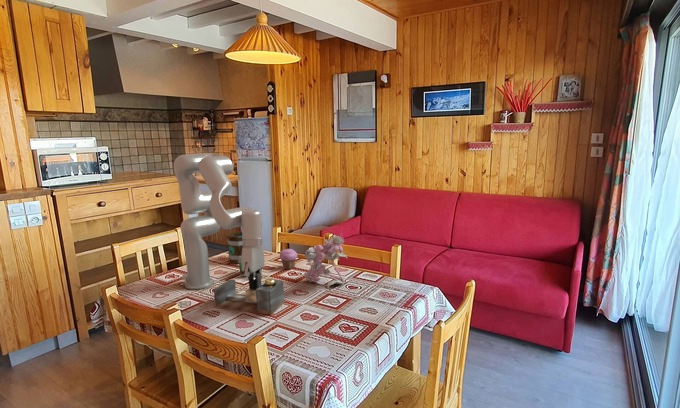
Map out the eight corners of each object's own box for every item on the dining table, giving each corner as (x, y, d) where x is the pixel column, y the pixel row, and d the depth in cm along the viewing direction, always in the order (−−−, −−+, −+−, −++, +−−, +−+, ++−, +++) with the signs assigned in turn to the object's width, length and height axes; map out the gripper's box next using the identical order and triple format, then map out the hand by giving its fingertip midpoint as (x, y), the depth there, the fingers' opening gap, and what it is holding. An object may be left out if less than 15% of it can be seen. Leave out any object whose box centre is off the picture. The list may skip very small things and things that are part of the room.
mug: (223, 261, 210) (221, 235, 207) (243, 255, 220) (241, 230, 218) (246, 268, 198) (244, 240, 195) (266, 261, 208) (264, 234, 206)
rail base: (215, 307, 153) (213, 284, 151) (231, 296, 163) (229, 274, 161) (271, 314, 145) (270, 291, 143) (284, 302, 155) (283, 280, 154)
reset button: (264, 295, 149) (263, 281, 148) (268, 291, 152) (267, 278, 151) (272, 296, 148) (271, 282, 147) (276, 292, 151) (276, 279, 150)
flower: (339, 267, 191) (317, 226, 184) (366, 276, 172) (342, 230, 165) (309, 293, 183) (283, 250, 175) (333, 305, 164) (306, 257, 156)
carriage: (245, 300, 150) (244, 276, 148) (255, 294, 156) (253, 270, 155) (257, 302, 148) (255, 277, 147) (266, 295, 155) (264, 271, 153)
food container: (251, 279, 182) (249, 259, 180) (239, 278, 183) (237, 258, 182) (261, 270, 194) (260, 251, 192) (250, 270, 195) (248, 251, 193)
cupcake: (291, 271, 192) (290, 252, 190) (277, 269, 195) (276, 250, 194) (300, 266, 199) (300, 247, 198) (286, 264, 203) (285, 245, 201)
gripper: (255, 236, 157) (257, 278, 160) (232, 246, 142) (235, 293, 145) (271, 237, 155) (273, 280, 158) (250, 248, 140) (253, 295, 143)
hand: (255, 286), depth 152 cm, fingers closed on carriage, 2 cm apart
